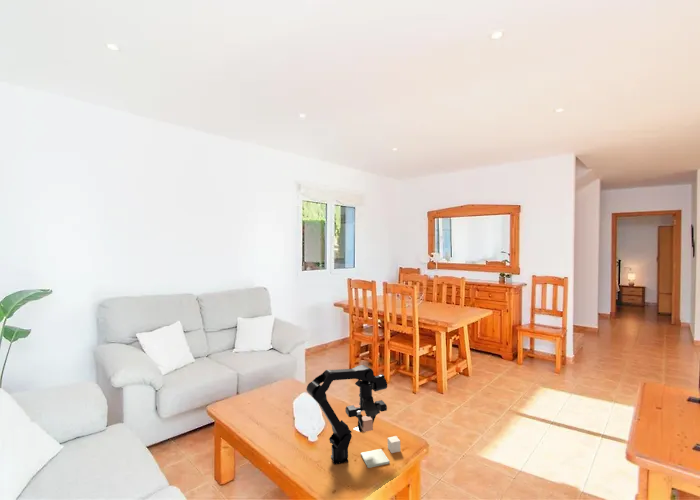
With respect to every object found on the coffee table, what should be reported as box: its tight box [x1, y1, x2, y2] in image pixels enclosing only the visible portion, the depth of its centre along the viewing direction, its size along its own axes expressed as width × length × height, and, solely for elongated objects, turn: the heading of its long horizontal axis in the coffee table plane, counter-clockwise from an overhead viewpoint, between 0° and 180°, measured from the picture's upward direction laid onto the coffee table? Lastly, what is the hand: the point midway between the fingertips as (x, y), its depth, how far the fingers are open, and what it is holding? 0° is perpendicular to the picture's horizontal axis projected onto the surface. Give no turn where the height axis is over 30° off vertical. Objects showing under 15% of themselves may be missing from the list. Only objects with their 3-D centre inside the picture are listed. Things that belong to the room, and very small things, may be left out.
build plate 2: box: [352, 419, 364, 433], centre depth 191 cm, size 12×7×5 cm, turn 137°
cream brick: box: [387, 435, 401, 454], centre depth 170 cm, size 4×4×5 cm
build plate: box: [360, 448, 391, 469], centre depth 163 cm, size 10×10×1 cm
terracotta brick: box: [361, 415, 374, 433], centre depth 170 cm, size 4×4×5 cm
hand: (366, 426), depth 170 cm, fingers closed on terracotta brick, 4 cm apart
